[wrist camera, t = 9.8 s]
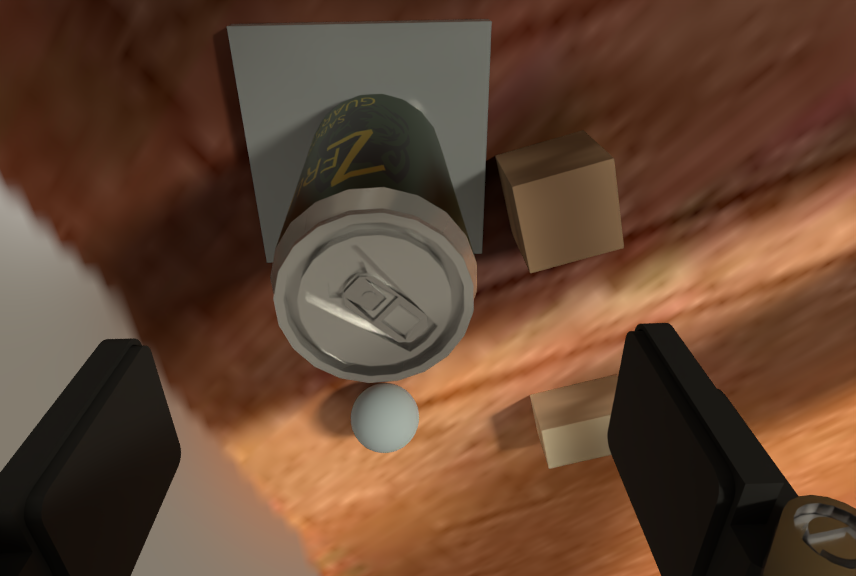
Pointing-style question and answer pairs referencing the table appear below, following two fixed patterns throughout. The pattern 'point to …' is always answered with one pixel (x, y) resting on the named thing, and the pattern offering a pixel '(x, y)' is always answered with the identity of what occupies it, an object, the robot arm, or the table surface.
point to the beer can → (374, 247)
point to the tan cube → (561, 200)
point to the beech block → (574, 420)
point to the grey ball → (384, 418)
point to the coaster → (352, 76)
